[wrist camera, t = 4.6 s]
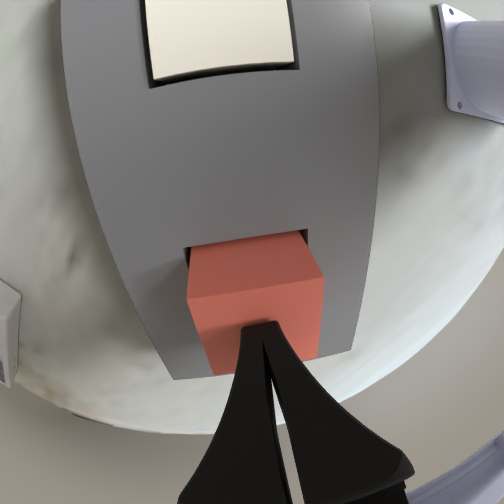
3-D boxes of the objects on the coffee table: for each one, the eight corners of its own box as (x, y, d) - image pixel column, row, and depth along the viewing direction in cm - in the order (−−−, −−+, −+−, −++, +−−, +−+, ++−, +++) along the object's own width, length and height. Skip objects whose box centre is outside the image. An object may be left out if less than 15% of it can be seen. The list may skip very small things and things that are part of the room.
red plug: (192, 241, 13) (186, 299, 9) (295, 225, 13) (324, 276, 10) (211, 315, 15) (214, 375, 12) (296, 301, 16) (317, 357, 12)
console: (95, -37, 6) (66, -62, 3) (315, -64, 7) (342, -93, 3) (176, 336, 20) (173, 379, 17) (332, 310, 21) (350, 349, 17)
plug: (161, 0, 8) (143, -30, 5) (261, -12, 9) (278, -45, 5) (171, 83, 11) (153, 79, 8) (271, 70, 11) (294, 61, 8)
